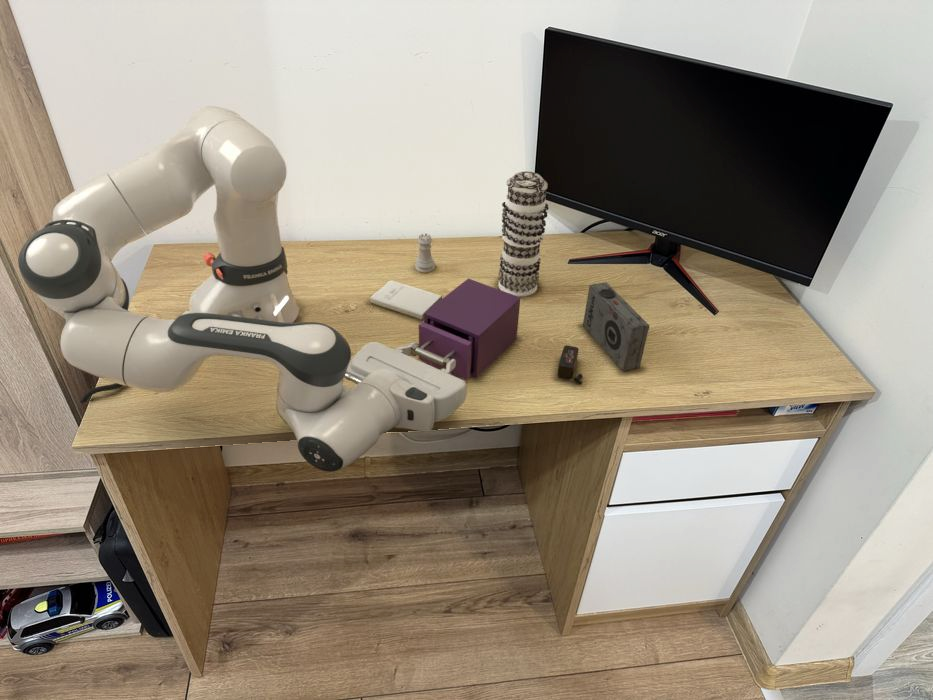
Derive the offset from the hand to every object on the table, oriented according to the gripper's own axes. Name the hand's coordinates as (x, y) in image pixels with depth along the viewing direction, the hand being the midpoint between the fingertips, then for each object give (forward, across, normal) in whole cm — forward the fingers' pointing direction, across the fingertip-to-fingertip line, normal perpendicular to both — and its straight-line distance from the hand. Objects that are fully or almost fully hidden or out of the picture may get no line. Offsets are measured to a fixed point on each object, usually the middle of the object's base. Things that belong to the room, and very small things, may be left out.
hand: (434, 353), depth 121 cm
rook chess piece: (+30, -24, -6) cm, 39 cm away
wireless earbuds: (+16, +19, -6) cm, 26 cm away
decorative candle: (+36, -4, -6) cm, 37 cm away
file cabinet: (+12, 0, -6) cm, 14 cm away
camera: (+28, +21, -6) cm, 36 cm away
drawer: (+7, 0, -5) cm, 9 cm away
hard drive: (+17, -19, -6) cm, 27 cm away
